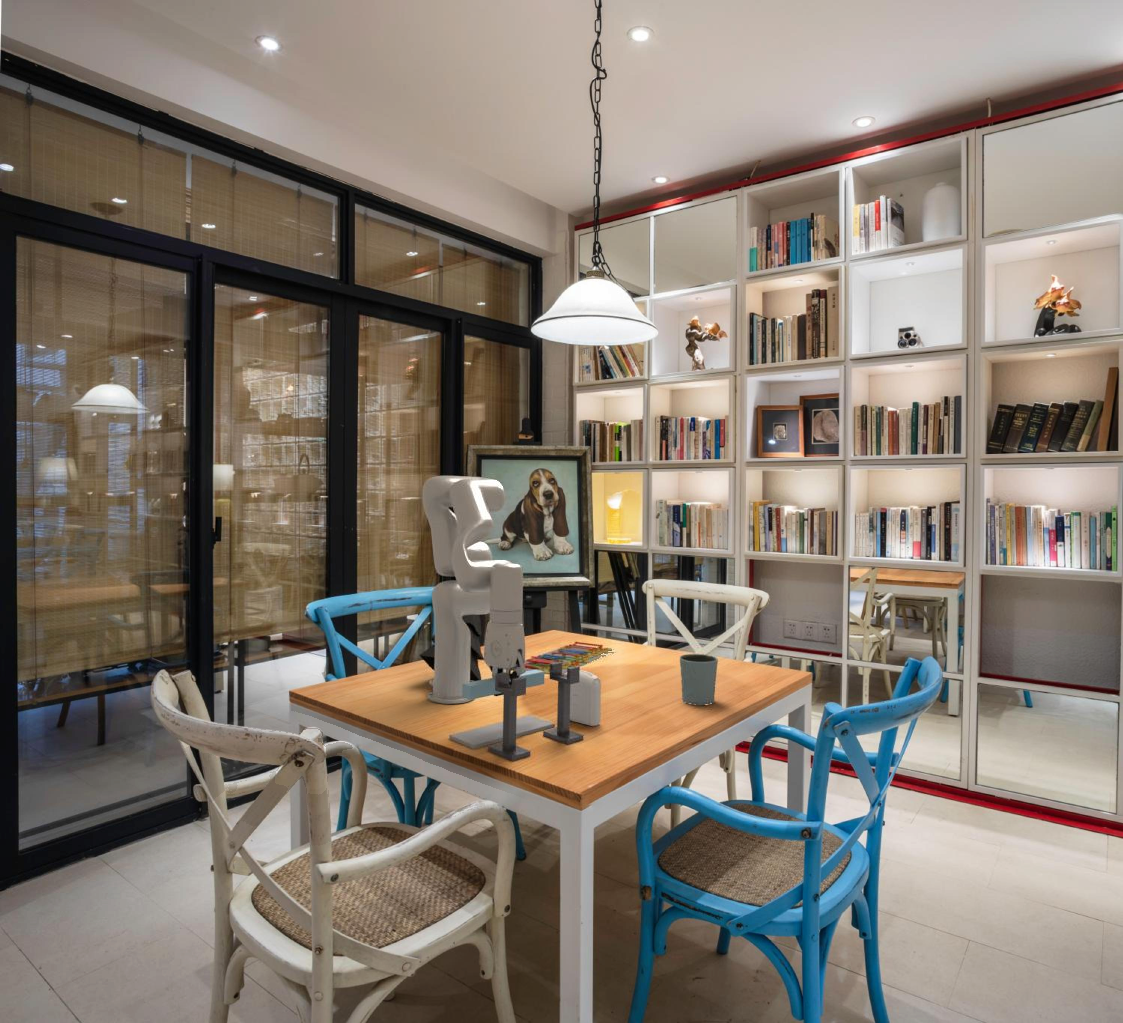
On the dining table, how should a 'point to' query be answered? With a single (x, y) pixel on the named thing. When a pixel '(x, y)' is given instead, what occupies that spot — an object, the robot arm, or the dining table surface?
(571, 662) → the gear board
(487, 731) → the felt mat
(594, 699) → the photo printer
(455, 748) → the dining table surface
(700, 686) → the grey green cup
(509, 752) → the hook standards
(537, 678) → the rail
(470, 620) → the decorative tree
